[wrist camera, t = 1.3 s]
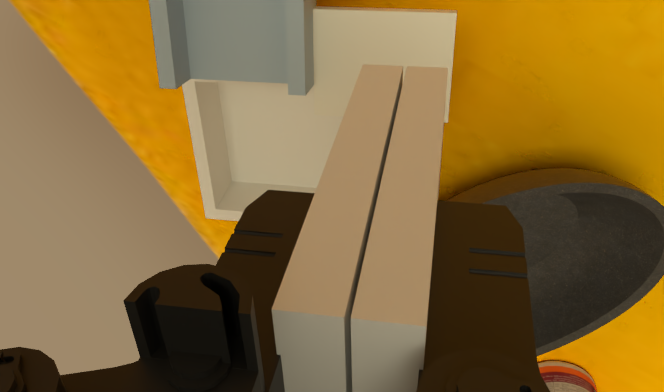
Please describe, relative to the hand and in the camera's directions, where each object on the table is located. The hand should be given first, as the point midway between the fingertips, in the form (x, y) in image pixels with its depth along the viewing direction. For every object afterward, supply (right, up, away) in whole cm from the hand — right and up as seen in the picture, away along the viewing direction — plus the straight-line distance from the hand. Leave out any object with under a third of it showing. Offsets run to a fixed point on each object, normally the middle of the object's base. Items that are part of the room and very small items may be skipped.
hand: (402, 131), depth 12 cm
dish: (-4, +3, +29) cm, 29 cm away
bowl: (+9, -4, +31) cm, 33 cm away
